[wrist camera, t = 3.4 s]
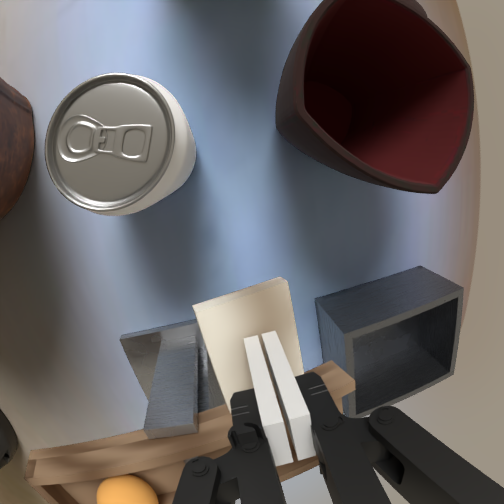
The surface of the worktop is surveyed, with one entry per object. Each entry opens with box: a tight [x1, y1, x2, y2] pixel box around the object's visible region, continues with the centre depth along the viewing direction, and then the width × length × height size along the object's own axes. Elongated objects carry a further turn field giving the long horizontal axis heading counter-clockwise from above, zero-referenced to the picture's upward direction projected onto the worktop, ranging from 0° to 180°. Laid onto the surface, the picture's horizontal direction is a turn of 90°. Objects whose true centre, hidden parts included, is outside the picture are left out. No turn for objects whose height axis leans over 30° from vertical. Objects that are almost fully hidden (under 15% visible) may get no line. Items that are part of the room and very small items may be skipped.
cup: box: [276, 0, 474, 194], centre depth 17 cm, size 10×14×12 cm
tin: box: [315, 266, 464, 418], centre depth 25 cm, size 11×9×6 cm
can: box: [45, 73, 196, 216], centre depth 17 cm, size 6×6×12 cm
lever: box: [24, 277, 356, 504], centre depth 16 cm, size 22×14×3 cm, turn 103°
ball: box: [97, 474, 159, 504], centre depth 14 cm, size 4×4×4 cm
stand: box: [120, 319, 226, 439], centre depth 22 cm, size 10×11×11 cm
